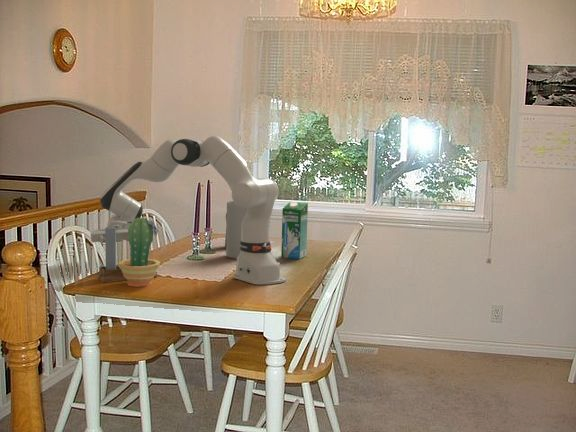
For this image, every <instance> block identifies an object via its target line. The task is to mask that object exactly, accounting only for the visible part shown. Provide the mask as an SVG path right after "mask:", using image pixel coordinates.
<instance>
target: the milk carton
mask: <svg viewBox="0 0 576 432" xmlns="http://www.w3.org/2000/svg"><path fill="white" fill-rule="evenodd" d="M308 209H309V203H308V202H298V201H297V202H295V201H289V202H288V203H287V204H286V205H285V206H284V207H283V208H282V213H281V214H282V215H281V216H282V218H281V219H282V220H281V221H282V222H281V250H280V251H281V255H280V256H281V258H283V259H284V258H285V259H295V260H300V259H302V258H305V257H307V249H308V247H307V245H308V242H307V240H308V215H309V214H308V213H309V211H308Z"/></svg>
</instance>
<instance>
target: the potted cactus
mask: <svg viewBox="0 0 576 432" xmlns="http://www.w3.org/2000/svg"><path fill="white" fill-rule="evenodd" d="M158 232H159V230H158V228H157V226H156V224H155V223H154V221H152V220H148V218H147V217H146V218H145V217H143V216H141V218H139V217H137V219H136V218H135V219H134V220H133V221H132V223H131V224H130V226H129V228H128V240H129V241H128V243H129V245H130V246H129V247H130V259H125V260H121V261H119V262H118V263H117V264H118V266H119V268H121V270H122V273H123V276H124V277H125V278H126V280H125V281H127V283H126V285H127V286H130V287H138V288H139V287H148V286H150V285H152V284H153V283H152V280H153V279H154V278H155V277H154V276H155V274H156V272H157V271H158V269H159V268H160V266H161V265H160V264H161V262H160V261H159V260H157V259H151V258H149V255H150V249H151V245H152V243H153V240H154V236H155V238H157V236H158V234H159V233H158ZM153 277H154V278H153Z"/></svg>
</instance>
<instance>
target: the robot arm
mask: <svg viewBox="0 0 576 432" xmlns="http://www.w3.org/2000/svg"><path fill="white" fill-rule="evenodd" d="M209 164H210V165H211V166H212V167H213V168H214V169H215V170H216V172H217V173H218V174H219V175H220V176H221V177H222V178H223V179H224V181H225V182H226V183H227V185H228V187H229V189H230V190H231V197H232V198H231V199H232V201H234V203H235V204H236V205H237V206H239V207H243V208H247V212H246V215H245V217H244V218H243V220H242V230H241V241H240V250H241V252H240V254H239V255H238V257H237V259H236V265H235V266H236V268H235V273H234V274H232V279H237V280H239V281H241V282H246V283H248V284H249V283H250V284H252V285H261V286H262V285H274V284H281V283H285V282H286V281H287V279H286V278H285V277H284V276H283V275H281V273H280V272H281V271H280V269H281V263H280V262H278V261H277V260H276V258H275V256H274V254H273V253H272V245H271V241H270V223H271V216H272V213H273V208H274V204H275V202H276V201H277V199H278V197H279V192H280V190H279V186H278V184H277V182H275V181H274V180H272V179H270V178H267V177H261V178H255V177H254V176H253V175H252V174H251V172H250V170H249V168H248V167H249V165H248V163H247V161H246V160H245V159H244V157H242V156H241V155H240V154H239V153H238V151H236V150H235V148H234V147H233V146H232V145H230V143H228V141H226V140H224V139H223V138H222V137H220V136H218V135H212V136H211V135H210V136H209V137H207V138H206V139H205V140H204V141H203V140H202V141H201V140H198V139H193V138H192V139H190V138H181V139H178V140H175V139H167V140H165V141H164V142H163V143H162V144H161V145H160V146H159V147H158V148H157V149H156V150H155V151H154V152H153V153H152V155H151V156H150V158H148V159H147V160H145V161H137V162H136V163H134V164H133V165H131V167H129V169H127V171H125V172H124V173H123V174H122V175H121V176H120V177H119V178H118V179H117V180H116V181H115V182H114V183H112V184H111V185H110V186H109V187H107V188H106V189H105V190H104V191H103V192H102V194H101V195H100V198H99V203H100V205H101V208H103V209H105V210H106V211H109V212H111V213H112V214H113V215H112V216H111V217H110V218H109V219H108V221H107V224H106V227H116V243H121V242H123V241H125V242H127V241H128V242H129V240H128V228H129V226H130V224H131V223H132V221H133V220H134V219H135V218H136V219H137V217H139V218H140V219H141V218H142V215H143V212H144V210H143V205H142V203H140V202H139V201H137V199H134V198H133V197H131V196H129V195H128V194H126V193H124V192H123V191H122V190H123V189H124V188H125V187H126V186H128V185H129V184H130V183H131V182H132V181H133V180H144V181H149V182H153V183H162V182H164V181H167V180H168V179H169V178H170V177H171V176H172V174H173V173H174V172H175V170H176V169H177V168H178V167H179V166H187V167H190V168H191V167H192V168H193V167H194V168H195V167H197V168H198V167H199V168H202V167H206V166H208V165H209ZM90 241H91V243H99V242H101V243H102V244H103V243H105V228H100V229H99V228H97V229H93V230H92V231H91V232H90Z"/></svg>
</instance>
